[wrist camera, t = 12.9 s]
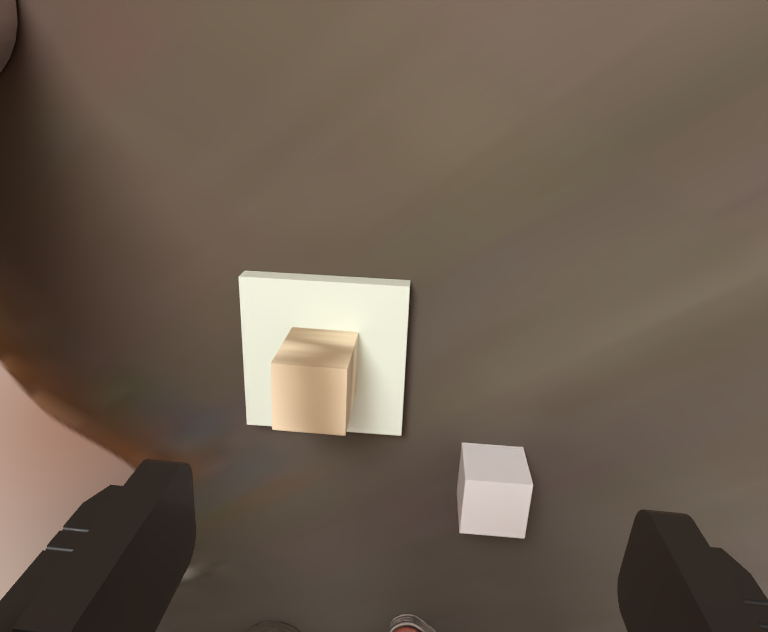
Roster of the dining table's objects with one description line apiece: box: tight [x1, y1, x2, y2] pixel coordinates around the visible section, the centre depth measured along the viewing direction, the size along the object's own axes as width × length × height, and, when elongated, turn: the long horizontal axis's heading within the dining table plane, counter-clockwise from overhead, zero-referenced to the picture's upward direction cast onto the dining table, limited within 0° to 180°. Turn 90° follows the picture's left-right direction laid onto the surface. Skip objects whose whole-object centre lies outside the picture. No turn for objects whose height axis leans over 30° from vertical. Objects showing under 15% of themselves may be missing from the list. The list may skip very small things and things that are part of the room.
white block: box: [457, 443, 533, 538], centre depth 37 cm, size 4×4×4 cm
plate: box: [239, 271, 410, 436], centre depth 35 cm, size 10×10×1 cm
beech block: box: [271, 327, 358, 436], centre depth 33 cm, size 4×4×5 cm
